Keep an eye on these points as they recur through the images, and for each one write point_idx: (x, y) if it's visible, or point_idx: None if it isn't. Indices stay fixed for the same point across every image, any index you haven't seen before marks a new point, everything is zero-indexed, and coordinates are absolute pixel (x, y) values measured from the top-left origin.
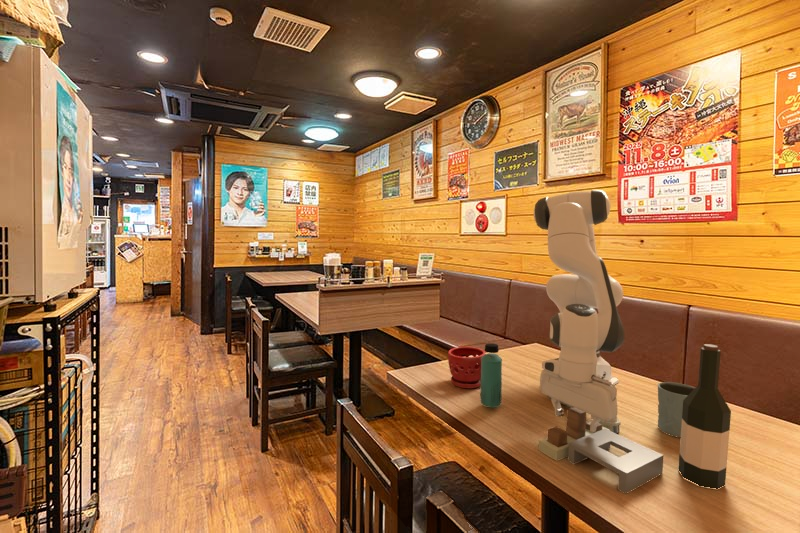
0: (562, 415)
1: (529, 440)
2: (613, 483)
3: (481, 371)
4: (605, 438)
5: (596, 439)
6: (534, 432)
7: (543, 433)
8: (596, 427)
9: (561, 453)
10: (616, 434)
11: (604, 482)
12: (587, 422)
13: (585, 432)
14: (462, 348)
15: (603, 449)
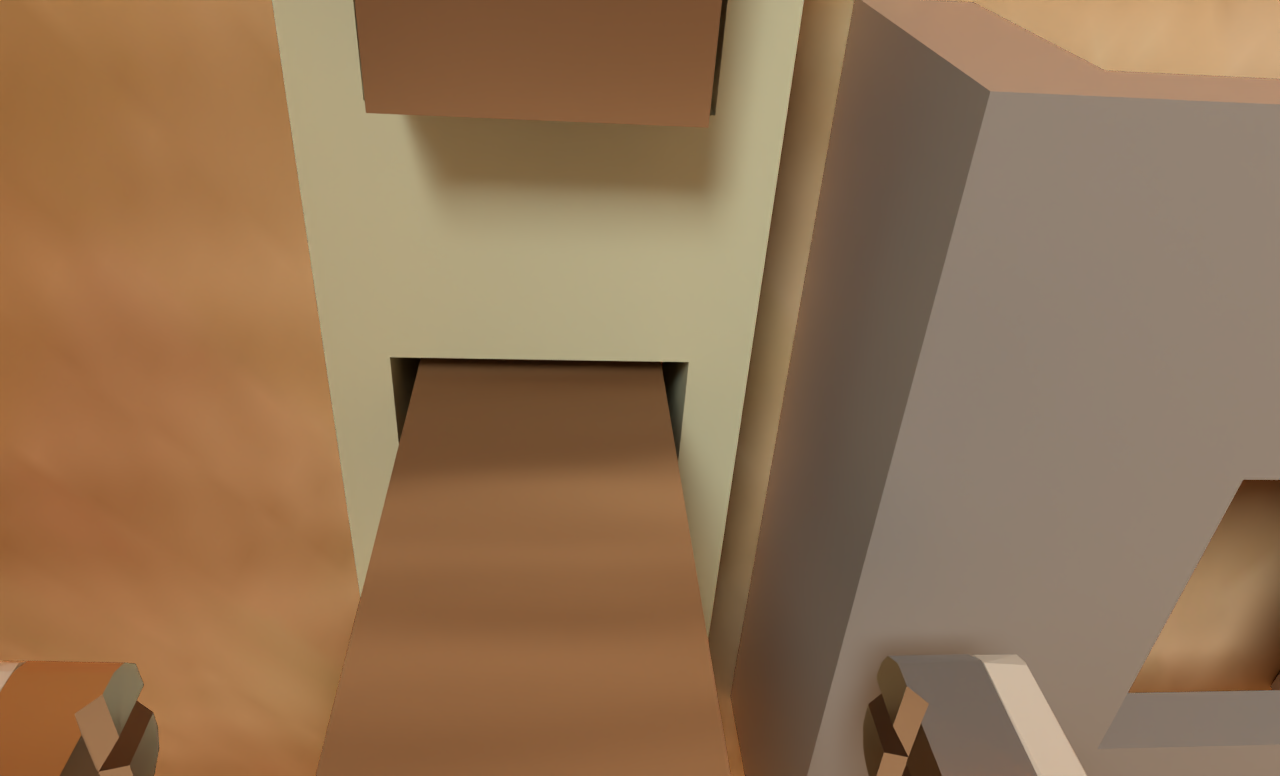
0: (131, 686)
1: (194, 724)
2: (1214, 649)
3: None
4: (1133, 485)
5: (1015, 623)
6: (6, 567)
7: (72, 494)
8: (712, 43)
9: None
10: None
11: (1141, 691)
12: (419, 26)
13: (575, 250)
14: None
15: (1191, 747)
